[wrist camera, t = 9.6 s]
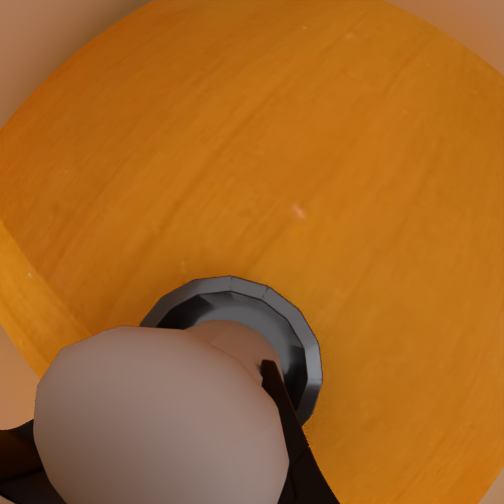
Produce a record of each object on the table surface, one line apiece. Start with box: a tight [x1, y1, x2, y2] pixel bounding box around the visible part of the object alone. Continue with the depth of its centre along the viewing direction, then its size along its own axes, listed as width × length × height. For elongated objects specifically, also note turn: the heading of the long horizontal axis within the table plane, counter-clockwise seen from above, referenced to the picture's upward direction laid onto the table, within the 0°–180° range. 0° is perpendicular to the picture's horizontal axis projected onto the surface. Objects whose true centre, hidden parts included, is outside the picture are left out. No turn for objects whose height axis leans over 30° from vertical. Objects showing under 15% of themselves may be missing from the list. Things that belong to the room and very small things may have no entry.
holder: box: [139, 276, 323, 427], centre depth 15 cm, size 10×10×4 cm
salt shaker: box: [33, 320, 289, 504], centre depth 9 cm, size 6×6×13 cm
